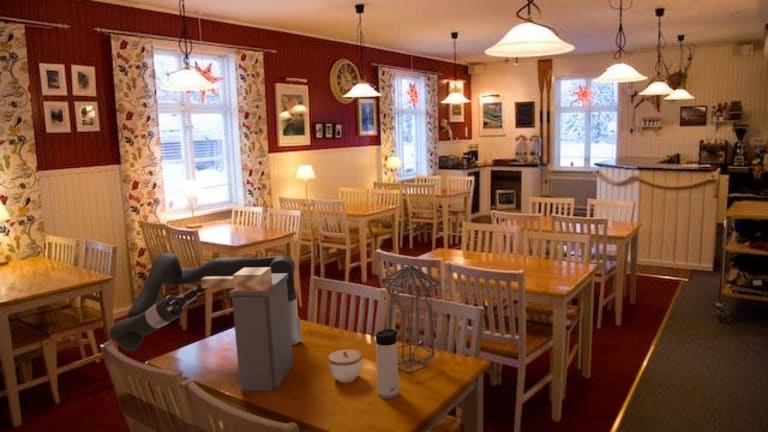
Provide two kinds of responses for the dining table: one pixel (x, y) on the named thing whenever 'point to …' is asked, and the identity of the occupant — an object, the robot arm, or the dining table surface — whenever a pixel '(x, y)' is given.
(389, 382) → the travel mug
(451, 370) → the dining table surface
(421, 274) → the geometric lantern
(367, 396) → the dining table surface
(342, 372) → the lidded jar
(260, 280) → the beech mallet
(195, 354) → the dining table surface
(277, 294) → the tall grey pillar box
